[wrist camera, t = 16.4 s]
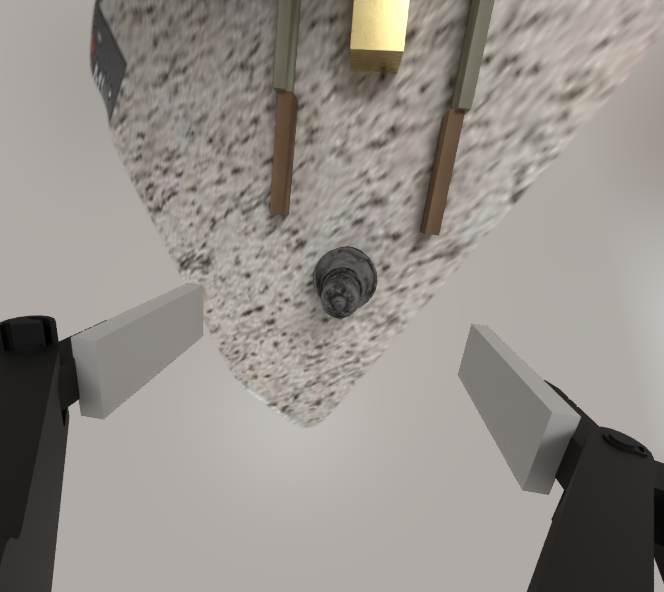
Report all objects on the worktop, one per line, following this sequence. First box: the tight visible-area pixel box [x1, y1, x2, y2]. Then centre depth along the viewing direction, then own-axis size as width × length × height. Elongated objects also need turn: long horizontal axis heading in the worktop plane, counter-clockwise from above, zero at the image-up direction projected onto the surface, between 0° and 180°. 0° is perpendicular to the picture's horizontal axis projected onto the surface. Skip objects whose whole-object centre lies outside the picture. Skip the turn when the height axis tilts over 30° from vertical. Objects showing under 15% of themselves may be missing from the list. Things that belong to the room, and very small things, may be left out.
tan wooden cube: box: [350, 0, 409, 73], centre depth 25 cm, size 4×4×4 cm
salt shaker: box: [313, 247, 377, 318], centre depth 27 cm, size 6×6×12 cm
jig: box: [270, 0, 494, 235], centre depth 26 cm, size 16×25×3 cm, turn 173°
